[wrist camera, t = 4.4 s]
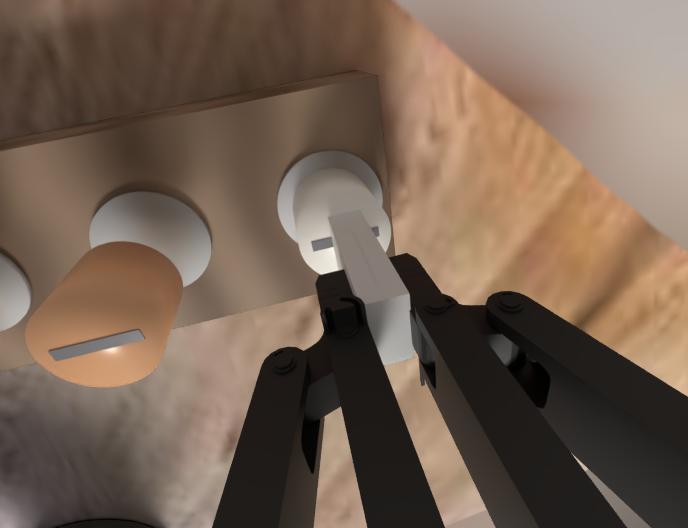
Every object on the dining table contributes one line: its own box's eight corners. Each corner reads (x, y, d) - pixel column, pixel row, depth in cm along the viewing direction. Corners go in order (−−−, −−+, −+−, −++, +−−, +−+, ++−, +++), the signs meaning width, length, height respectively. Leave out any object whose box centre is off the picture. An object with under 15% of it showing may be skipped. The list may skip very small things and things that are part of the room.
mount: (20, 325, 27) (-30, 383, 22) (-116, 164, 20) (-226, 198, 16) (377, 240, 29) (399, 277, 24) (355, 70, 22) (379, 76, 18)
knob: (302, 249, 21) (309, 288, 18) (283, 177, 19) (288, 206, 16) (374, 232, 22) (395, 267, 18) (365, 160, 19) (386, 184, 16)
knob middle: (106, 331, 18) (69, 400, 14) (53, 254, 15) (-7, 313, 12) (197, 309, 18) (182, 371, 15) (159, 230, 16) (130, 282, 12)
